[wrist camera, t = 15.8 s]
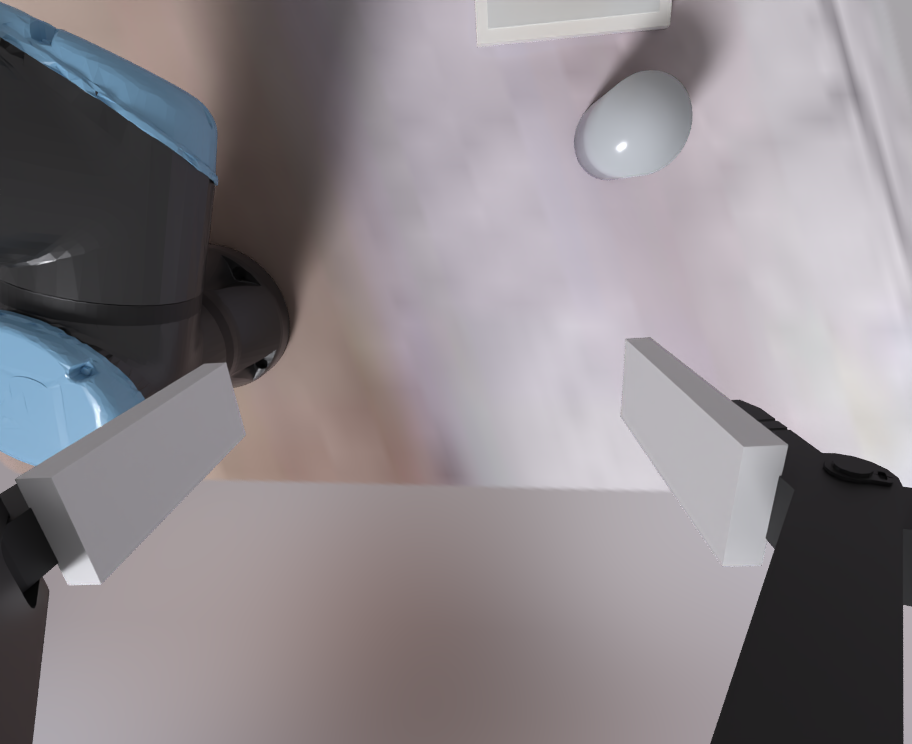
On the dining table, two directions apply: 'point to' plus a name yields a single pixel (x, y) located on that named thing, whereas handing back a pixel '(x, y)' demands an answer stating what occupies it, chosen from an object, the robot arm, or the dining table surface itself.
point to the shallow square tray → (564, 19)
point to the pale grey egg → (634, 127)
